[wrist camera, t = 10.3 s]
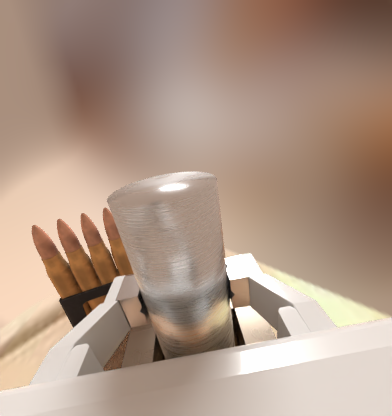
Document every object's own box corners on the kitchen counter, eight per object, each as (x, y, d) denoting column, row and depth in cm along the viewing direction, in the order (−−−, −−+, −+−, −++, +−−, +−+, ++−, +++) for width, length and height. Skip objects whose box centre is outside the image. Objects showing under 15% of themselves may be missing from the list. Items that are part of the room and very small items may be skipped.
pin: (172, 419, 10) (85, 218, 5) (174, 340, 14) (124, 181, 9) (247, 405, 10) (228, 193, 5) (228, 330, 14) (208, 167, 9)
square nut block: (114, 557, 8) (79, 539, 7) (147, 333, 18) (136, 303, 16) (329, 512, 9) (344, 485, 7) (251, 314, 18) (250, 283, 16)
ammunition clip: (78, 339, 18) (12, 234, 13) (82, 322, 20) (25, 223, 15) (183, 297, 21) (159, 198, 16) (178, 285, 22) (156, 192, 18)
